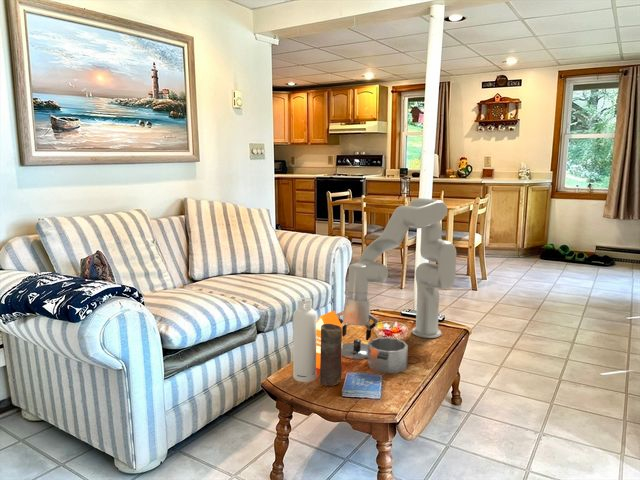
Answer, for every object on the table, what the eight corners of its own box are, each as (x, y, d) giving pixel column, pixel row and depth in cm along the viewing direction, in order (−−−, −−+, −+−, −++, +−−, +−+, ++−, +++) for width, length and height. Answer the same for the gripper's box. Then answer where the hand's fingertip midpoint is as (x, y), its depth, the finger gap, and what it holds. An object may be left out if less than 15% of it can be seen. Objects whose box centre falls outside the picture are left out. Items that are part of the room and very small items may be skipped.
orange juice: (311, 366, 175) (311, 314, 172) (325, 358, 182) (325, 308, 179) (328, 371, 171) (328, 318, 167) (342, 363, 177) (343, 312, 174)
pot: (374, 353, 188) (375, 333, 186) (410, 358, 183) (411, 338, 181) (362, 372, 170) (362, 351, 169) (401, 378, 166) (402, 356, 164)
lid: (344, 343, 198) (344, 331, 198) (379, 348, 193) (380, 336, 192) (332, 357, 184) (333, 345, 183) (371, 363, 179) (371, 350, 178)
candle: (328, 375, 167) (328, 321, 164) (345, 381, 163) (346, 325, 160) (315, 383, 161) (315, 327, 158) (333, 389, 157) (334, 331, 154)
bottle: (309, 369, 172) (310, 295, 168) (320, 378, 165) (320, 301, 160) (289, 374, 168) (289, 298, 164) (299, 383, 161) (299, 304, 157)
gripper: (333, 294, 184) (332, 337, 187) (377, 300, 178) (375, 343, 181) (339, 290, 191) (338, 331, 194) (381, 295, 185) (379, 337, 188)
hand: (355, 337), depth 187 cm, fingers open, 9 cm apart
